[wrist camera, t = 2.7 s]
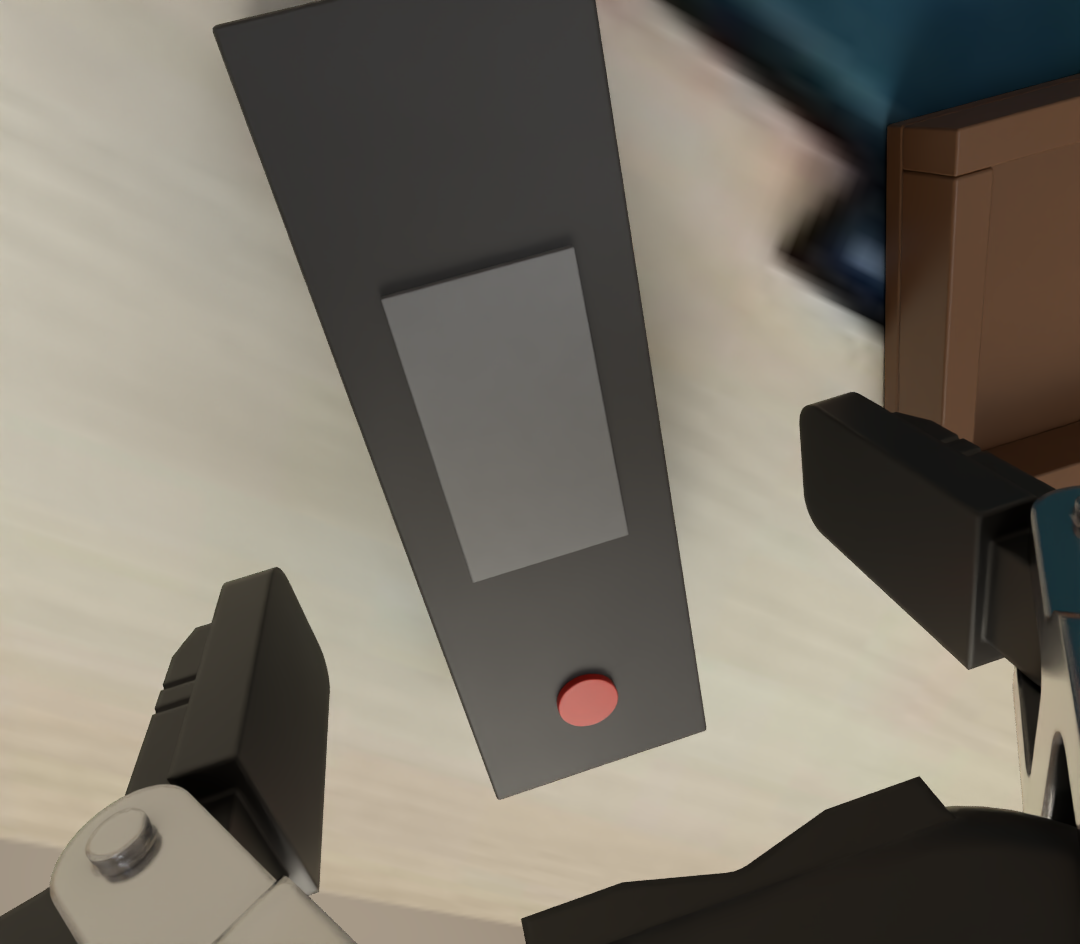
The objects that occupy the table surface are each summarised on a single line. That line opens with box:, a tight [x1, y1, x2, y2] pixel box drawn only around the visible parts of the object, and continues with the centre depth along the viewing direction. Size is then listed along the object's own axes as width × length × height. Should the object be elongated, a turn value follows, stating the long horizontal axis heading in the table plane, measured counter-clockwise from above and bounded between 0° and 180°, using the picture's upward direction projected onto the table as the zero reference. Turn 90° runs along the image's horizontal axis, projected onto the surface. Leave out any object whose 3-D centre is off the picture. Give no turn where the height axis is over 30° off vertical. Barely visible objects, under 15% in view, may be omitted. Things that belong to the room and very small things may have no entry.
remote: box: [213, 0, 706, 800], centre depth 14 cm, size 14×5×4 cm, turn 12°
